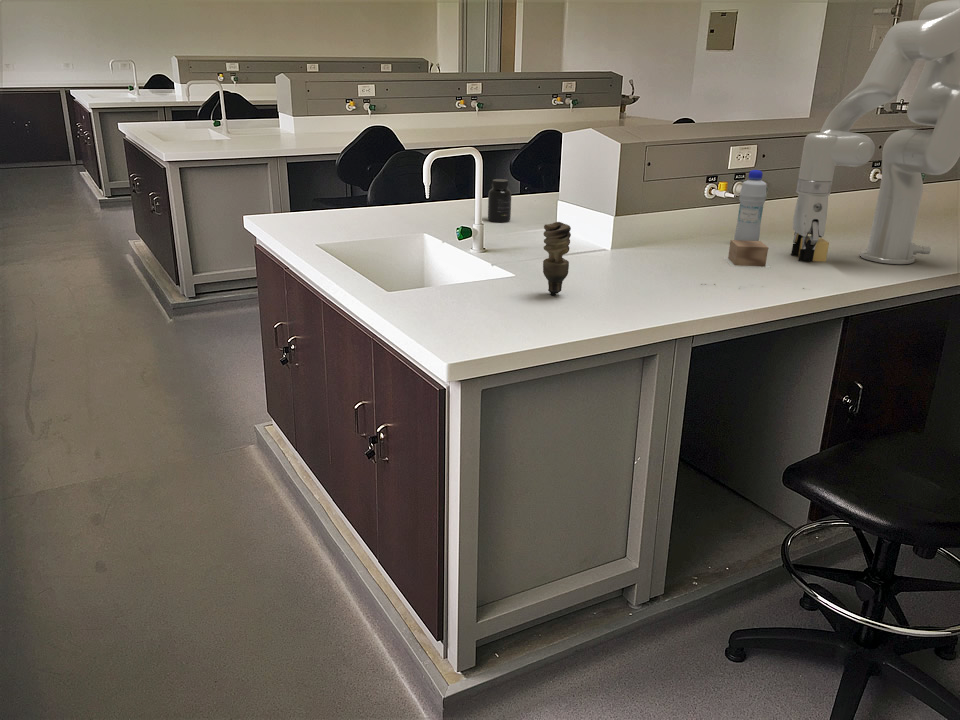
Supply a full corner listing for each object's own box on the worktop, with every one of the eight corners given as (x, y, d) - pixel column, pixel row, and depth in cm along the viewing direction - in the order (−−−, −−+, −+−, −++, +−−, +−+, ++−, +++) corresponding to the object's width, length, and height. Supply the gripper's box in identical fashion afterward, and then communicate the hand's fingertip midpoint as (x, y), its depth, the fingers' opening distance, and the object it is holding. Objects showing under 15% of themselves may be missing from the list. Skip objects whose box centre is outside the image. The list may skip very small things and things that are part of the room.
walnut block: (757, 259, 190) (760, 241, 188) (765, 266, 183) (768, 247, 182) (728, 258, 190) (730, 239, 189) (734, 265, 184) (737, 246, 182)
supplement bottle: (483, 219, 237) (484, 178, 233) (504, 218, 240) (505, 178, 236) (493, 223, 231) (495, 182, 227) (514, 222, 234) (516, 181, 230)
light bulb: (534, 294, 162) (538, 221, 157) (551, 289, 166) (556, 218, 160) (555, 300, 158) (559, 225, 153) (572, 295, 162) (577, 222, 156)
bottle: (730, 247, 209) (740, 170, 202) (735, 242, 214) (745, 167, 207) (756, 250, 206) (768, 172, 199) (760, 245, 212) (772, 169, 204)
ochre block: (817, 262, 195) (822, 238, 193) (824, 267, 190) (829, 242, 188) (797, 261, 195) (801, 237, 193) (803, 266, 191) (807, 241, 188)
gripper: (843, 193, 178) (828, 272, 185) (818, 182, 194) (805, 255, 200) (809, 192, 179) (795, 270, 185) (787, 181, 194) (775, 254, 201)
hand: (801, 261), depth 193 cm, fingers closed on ochre block, 5 cm apart
